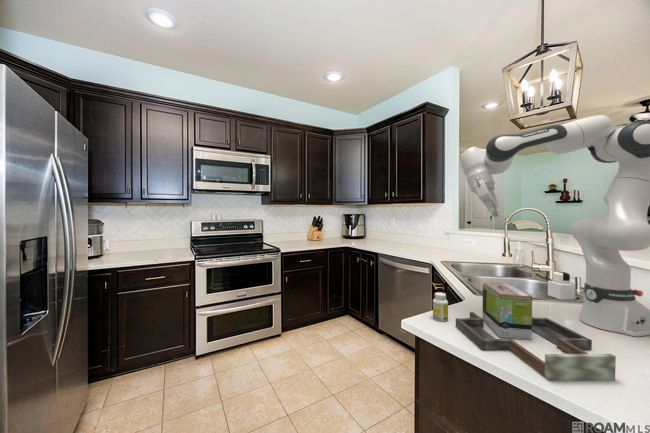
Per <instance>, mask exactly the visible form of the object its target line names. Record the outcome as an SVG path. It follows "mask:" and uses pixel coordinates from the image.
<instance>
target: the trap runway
mask: <svg viewBox="0 0 650 433" xmlns="http://www.w3.org/2000/svg"><path fill="white" fill-rule="evenodd" d="M484 323H485V321H484V319H482V316H479V315H478V314H477V313H475V312H473V311H469V317H468V318H467V317H465V318H463V317H462V318H461V317H460V318H459V317H457V318H455V328H457V329H458V330H459V331H460V332H461V333H462V334H463V335H465V336H466V338H468V339H469V340H470V341H471V342H472V343H473V344H474V345H475V346H476V347H478V348H479V349H480V350H481V351H486V352H487V351H489V352H490V351H491V352H492V351H498V352H500V351H510V352H511V353H512V354H513V355H515V356H516V357H518V358H519V359H520V360H521V361H523V362H524V363H525V364H527V366H529V367H531V368H532V369H533V370H534V371H536V372H537V373H538V374H540V375H541V376H542V377H543V378H545V379H546V380H547V381H550V382H551V381H556V382H557V381H558V382H559V381H616V369H617V368H616V362H617V358H616V357H617V356H616V355H614V354H612V353H588V352H586V351H592V349H593V348H592V346H593V340H592V339H590V338H589V337H586V336H584V335H582V334H580V333H579V332H576V331H574V330H573V329H570V328H568V327H566V326H564V325H562V324H560V323H559V322H556V321H554V320H552V319H550V318H548V317H532V332H533V333H535V334H536V335H537V336H539V337H542V338H543V339H545V340H546V341H548V342H549V343H551V344H553V345H555V346H556V349H558V350H559V351H560V352H563V353H545V354H544V361H543V360H542V359H541V358H539V357H538V356H536V355H535V354H533V353H532V352H531V351H529V350H528V349H526V348H525V347H524V346H522V345H521V344H519V343H518V342H516V341H515V340H514V339H513V338H495V336H493V335H492V334H491V333H489V332H487V330H486V329H484Z"/></svg>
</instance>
